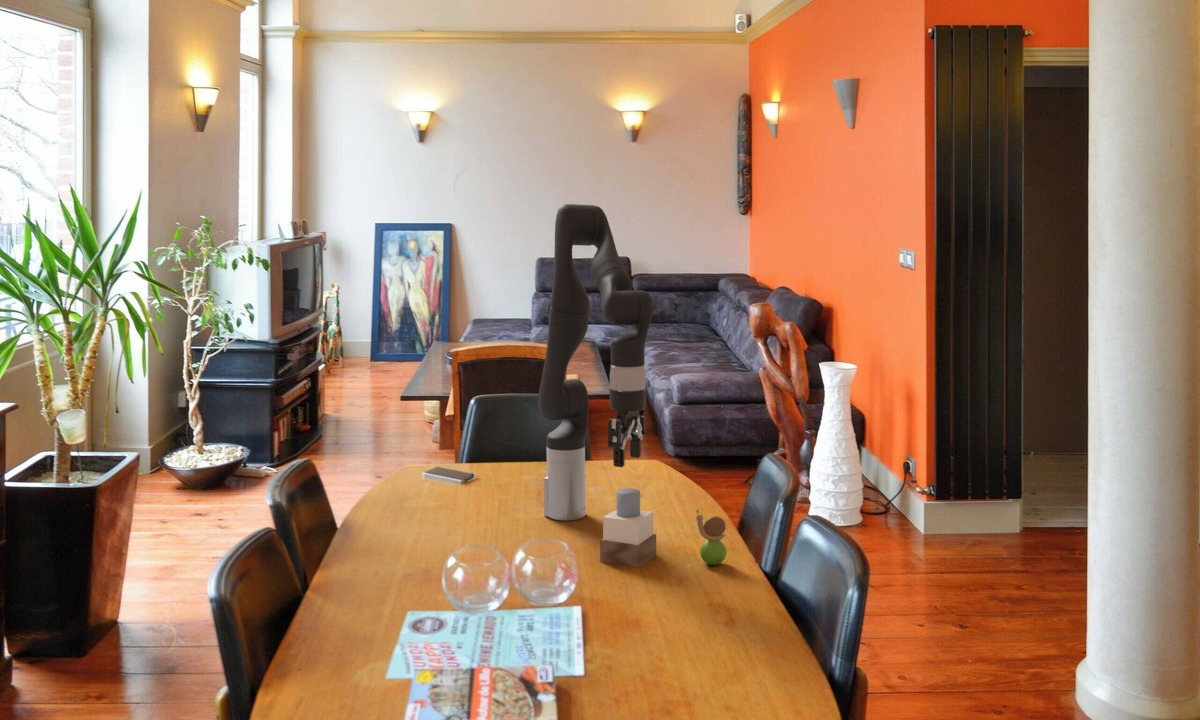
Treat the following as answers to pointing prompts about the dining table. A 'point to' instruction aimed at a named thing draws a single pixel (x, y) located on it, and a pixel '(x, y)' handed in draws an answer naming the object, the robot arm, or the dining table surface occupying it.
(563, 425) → the robot arm
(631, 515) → the grey blue cylinder
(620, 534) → the tower top
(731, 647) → the dining table surface
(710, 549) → the snail figurine
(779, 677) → the dining table surface
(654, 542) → the tower base
